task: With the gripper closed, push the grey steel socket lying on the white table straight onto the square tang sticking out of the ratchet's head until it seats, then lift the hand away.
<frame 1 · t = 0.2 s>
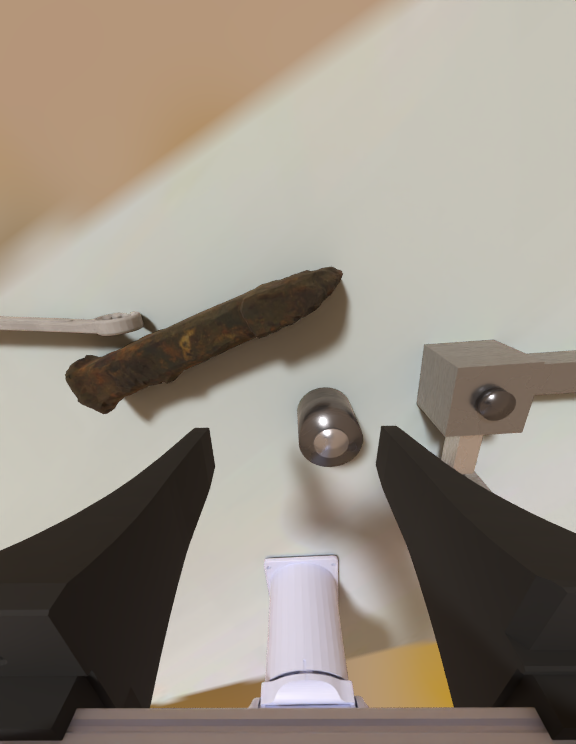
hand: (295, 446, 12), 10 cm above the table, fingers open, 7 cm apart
combination wrench: (12, 312, 20), on the table
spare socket: (323, 411, 23), on the table
hand tool: (209, 319, 20), on the table
ratchet: (453, 373, 21), on the table
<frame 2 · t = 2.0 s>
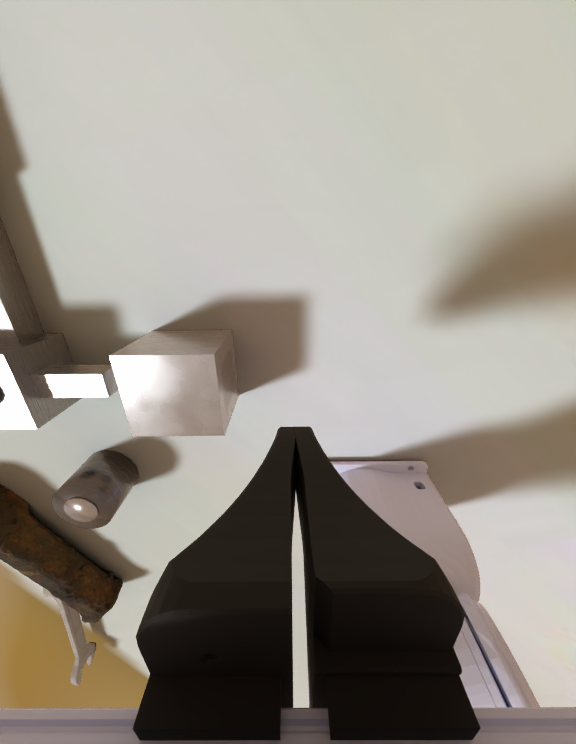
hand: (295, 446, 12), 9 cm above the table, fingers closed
combination wrench: (82, 607, 34), on the table
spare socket: (113, 469, 24), on the table
socket: (198, 364, 20), on the table
hand tool: (52, 530, 28), on the table
ratchet: (40, 366, 20), on the table
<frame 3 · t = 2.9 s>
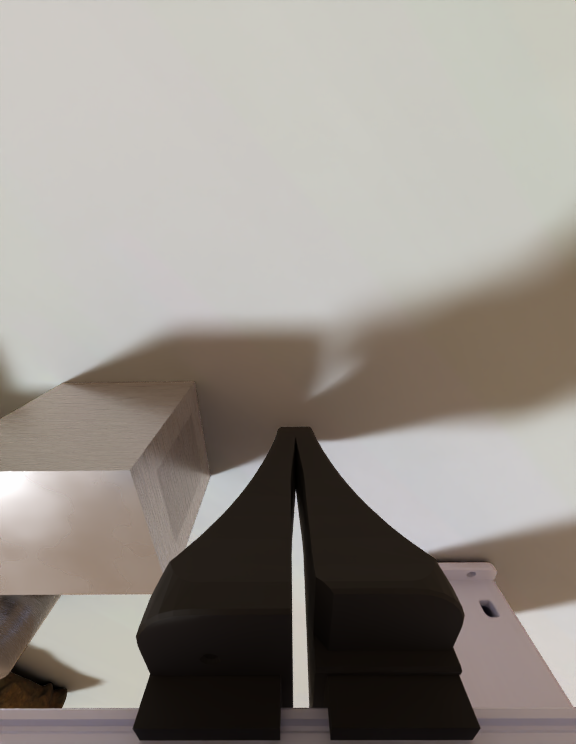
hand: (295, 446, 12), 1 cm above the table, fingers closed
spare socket: (32, 570, 17), on the table
socket: (143, 432, 13), on the table
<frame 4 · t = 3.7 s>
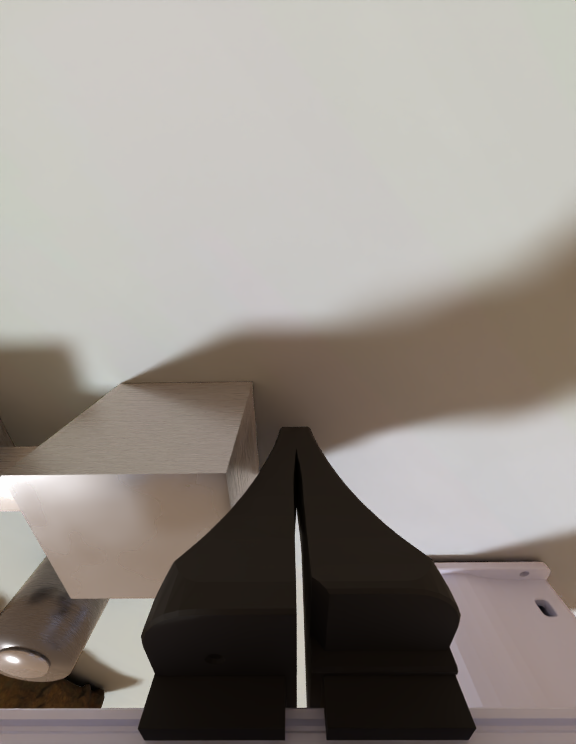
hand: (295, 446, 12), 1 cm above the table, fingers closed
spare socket: (82, 570, 17), on the table
socket: (195, 433, 13), on the table, touching gripper
hand tool: (2, 638, 20), on the table
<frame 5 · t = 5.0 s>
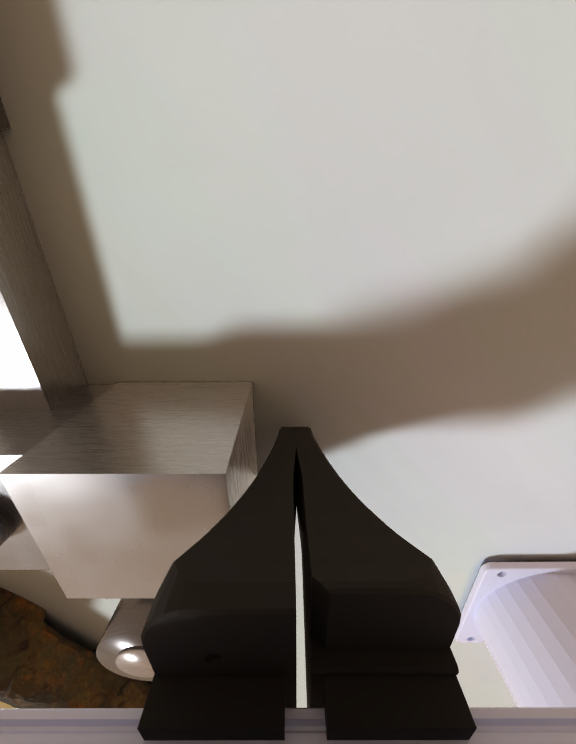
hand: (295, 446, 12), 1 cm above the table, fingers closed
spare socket: (176, 569, 17), on the table
socket: (193, 433, 13), on the table, touching gripper, ratchet
hand tool: (77, 636, 20), on the table
ratchet: (78, 434, 13), on the table, touching socket
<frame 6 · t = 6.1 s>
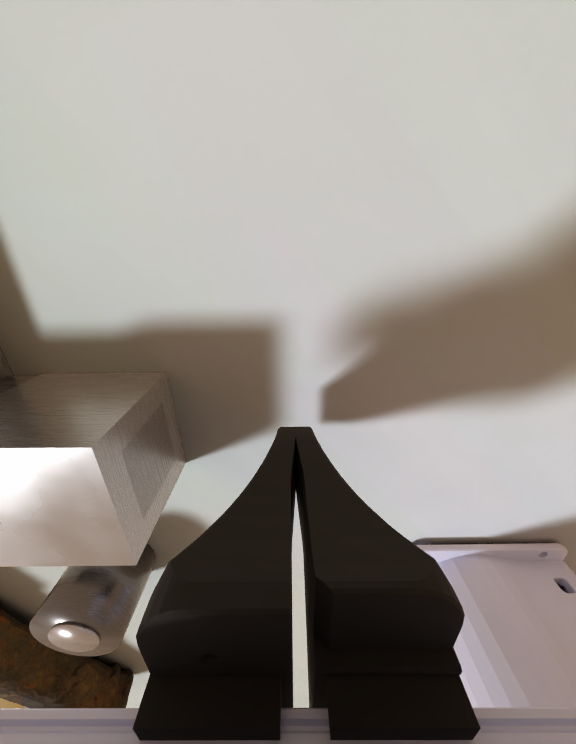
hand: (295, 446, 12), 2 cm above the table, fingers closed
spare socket: (120, 553, 17), on the table
socket: (120, 420, 13), on the table, touching ratchet
hand tool: (35, 620, 21), on the table
ratchet: (10, 422, 13), on the table, touching socket
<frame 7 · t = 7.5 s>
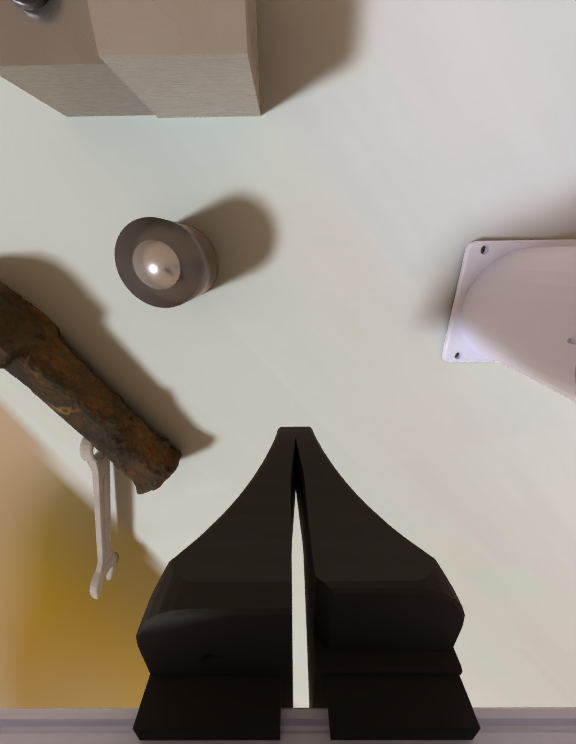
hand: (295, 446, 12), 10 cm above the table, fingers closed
combination wrench: (112, 501, 27), on the table
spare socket: (184, 262, 18), on the table
socket: (203, 51, 14), on the table
hand tool: (89, 380, 22), on the table
ratchet: (98, 52, 14), on the table
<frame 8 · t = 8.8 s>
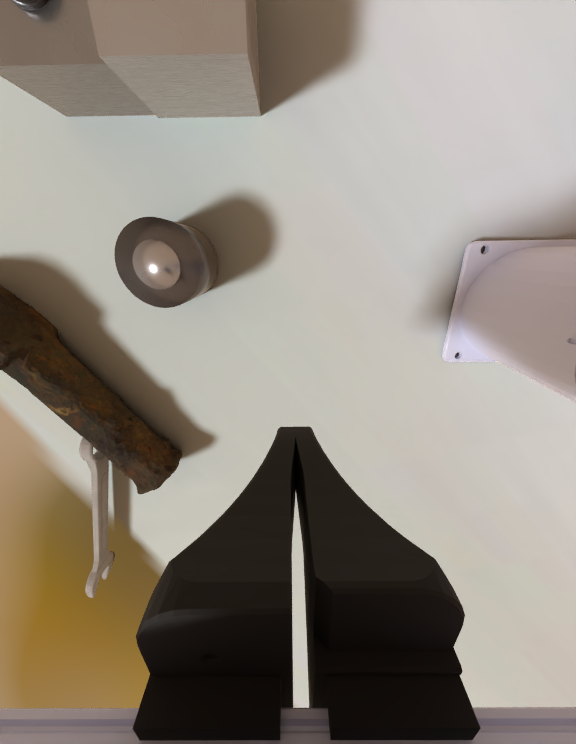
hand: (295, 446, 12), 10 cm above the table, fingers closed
combination wrench: (109, 501, 27), on the table
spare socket: (184, 262, 18), on the table
socket: (203, 52, 14), on the table
hand tool: (88, 381, 22), on the table
ratchet: (98, 52, 14), on the table
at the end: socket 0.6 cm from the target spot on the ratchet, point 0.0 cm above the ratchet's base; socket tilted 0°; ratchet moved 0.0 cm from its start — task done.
